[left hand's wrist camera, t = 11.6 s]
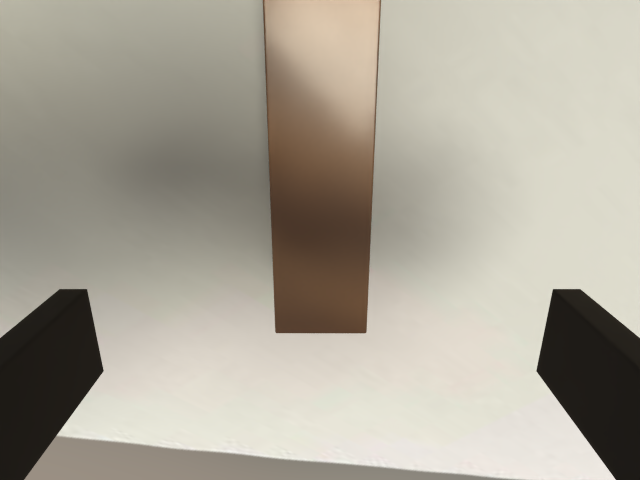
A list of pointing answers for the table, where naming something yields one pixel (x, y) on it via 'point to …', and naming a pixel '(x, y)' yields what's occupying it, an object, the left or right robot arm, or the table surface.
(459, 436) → the table surface
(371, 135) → the post
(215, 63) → the table surface
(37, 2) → the table surface
